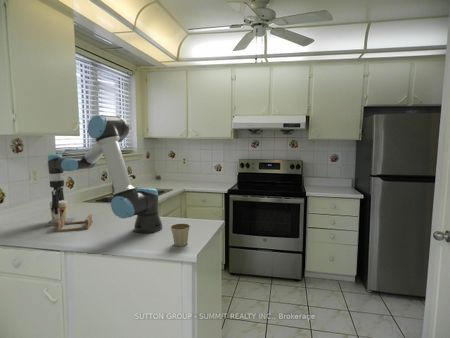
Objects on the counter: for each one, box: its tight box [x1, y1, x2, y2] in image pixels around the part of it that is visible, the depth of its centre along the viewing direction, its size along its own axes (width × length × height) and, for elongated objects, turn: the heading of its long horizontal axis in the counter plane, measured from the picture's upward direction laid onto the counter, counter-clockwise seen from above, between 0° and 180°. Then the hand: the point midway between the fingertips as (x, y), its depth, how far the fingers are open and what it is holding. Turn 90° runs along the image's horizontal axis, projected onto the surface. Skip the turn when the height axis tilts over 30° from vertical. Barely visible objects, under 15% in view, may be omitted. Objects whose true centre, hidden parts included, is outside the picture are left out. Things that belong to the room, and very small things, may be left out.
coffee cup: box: [49, 199, 68, 223], centre depth 178 cm, size 9×9×12 cm
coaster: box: [43, 217, 75, 227], centre depth 179 cm, size 13×13×1 cm
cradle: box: [54, 214, 94, 233], centre depth 170 cm, size 15×16×5 cm
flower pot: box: [169, 223, 191, 247], centre depth 141 cm, size 9×9×9 cm
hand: (59, 216), depth 178 cm, fingers open, 9 cm apart
